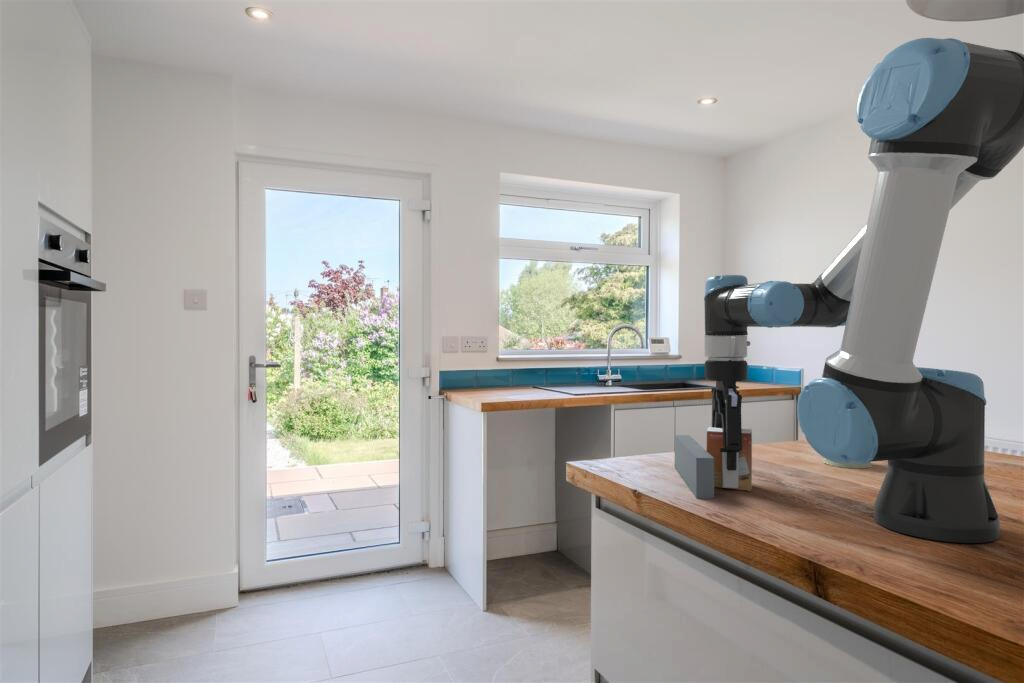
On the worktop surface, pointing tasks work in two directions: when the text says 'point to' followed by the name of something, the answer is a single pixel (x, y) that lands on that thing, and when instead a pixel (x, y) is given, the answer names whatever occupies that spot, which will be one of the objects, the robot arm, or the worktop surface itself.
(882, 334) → the robot arm
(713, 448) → the small box
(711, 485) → the wall
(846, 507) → the worktop surface
